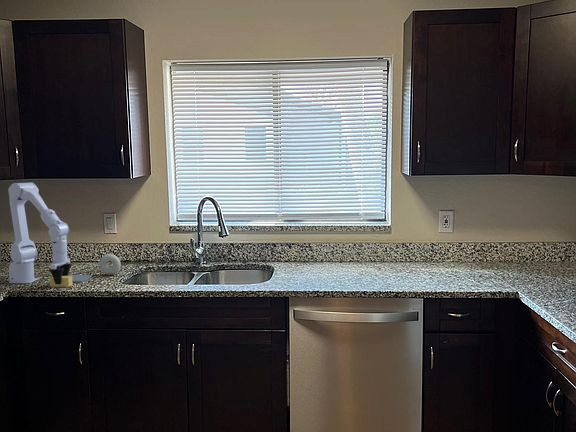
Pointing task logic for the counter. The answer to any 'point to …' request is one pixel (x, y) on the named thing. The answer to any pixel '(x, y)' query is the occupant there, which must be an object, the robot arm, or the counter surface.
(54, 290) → the counter surface
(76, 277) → the mat
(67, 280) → the yellow rectangular block
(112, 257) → the donut
